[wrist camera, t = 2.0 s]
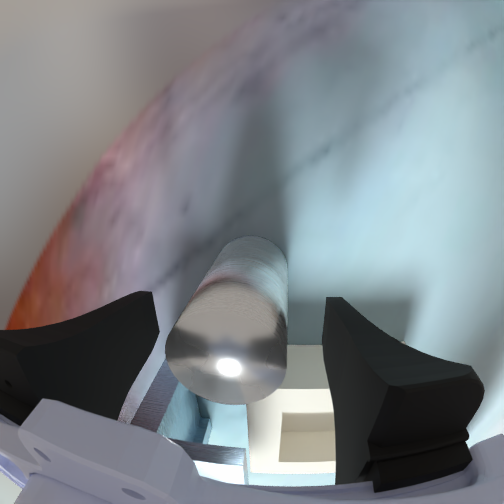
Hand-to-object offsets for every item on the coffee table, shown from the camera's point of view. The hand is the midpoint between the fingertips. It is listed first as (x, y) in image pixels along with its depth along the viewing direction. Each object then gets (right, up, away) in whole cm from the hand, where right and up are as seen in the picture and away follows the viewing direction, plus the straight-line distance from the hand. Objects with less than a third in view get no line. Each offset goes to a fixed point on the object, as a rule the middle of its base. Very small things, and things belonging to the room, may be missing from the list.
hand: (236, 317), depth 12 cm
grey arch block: (-2, -8, +8) cm, 12 cm away
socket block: (+6, -8, +7) cm, 12 cm away
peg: (+1, +2, +5) cm, 5 cm away
